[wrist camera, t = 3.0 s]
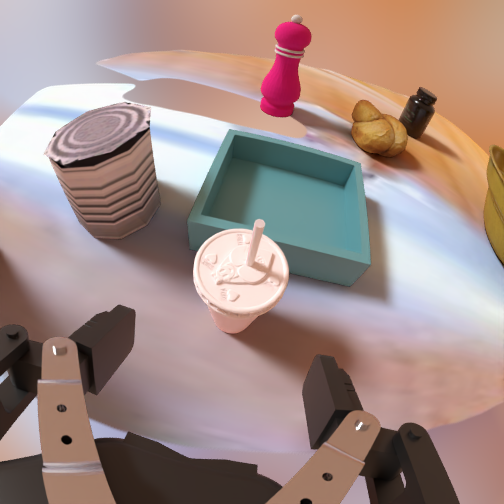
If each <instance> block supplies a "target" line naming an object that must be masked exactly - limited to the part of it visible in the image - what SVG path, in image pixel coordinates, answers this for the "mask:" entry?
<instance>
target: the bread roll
mask: <svg viewBox="0 0 504 504" xmlns="http://www.w3.org/2000/svg"><path fill="white" fill-rule="evenodd" d="M352 118H353V120H354V121H355V122H354V123H353V126H352V132H351V134H352V137H353V138H354V141H355V142H356V144H357V145H358V146H359V147H360V148H362V149H363V150H365V151H367V152H370V153H378V154H380V155H382V156H387V157H393V156H395V155H397V154H399V153H401V152H402V151H403V150H404V149H405V148H406V145H407V140H408V137H407V132H406V128H405V127H404V125H403V124H402V123H401V122H400V121H399V120H397V119H396V118H394V117H393V116H391V115H387V114H381V113H380V111H379V110H378V109H377V108H375V107H374V106H373V105H372V104H371V103H370V102H369V101H366V100H360V101H359V102H358V103H357V104H356V105H355V108H354V110H353V113H352Z"/></svg>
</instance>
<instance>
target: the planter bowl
mask: <svg viewBox="0 0 504 504" xmlns="http://www.w3.org/2000/svg"><path fill="white" fill-rule="evenodd" d="M489 152H490V158H489V162H488V166H487V180H488V184H489V188H488V192H487V196H486V200H485V206H484V222H485V229H486V233H487V236H488V238H489V241H490V243H491V245H492V247H493V249H494V251H495V253H496V254H497V256H498V257H499V259H500V260H501V261H502V263H503V264H504V149H502V148H501V147H499V146H496V145H491V146H490V147H489Z"/></svg>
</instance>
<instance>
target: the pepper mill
mask: <svg viewBox="0 0 504 504" xmlns="http://www.w3.org/2000/svg"><path fill="white" fill-rule="evenodd" d="M291 20H292V22H285V23H282V24H280V25H279V26H278V27H277V29H276V31H275V38H276V40H277V41H278V44H276V49H275V52H276V60H275V63H274V65H273V67H272V69H271V70H270V72H269V73H268V74H267V76H266V77H265V79H264V80H263V82H262V86H261V92H262V94H263V96H264V97H263V98H262V100H261V105H260V107H261V110H262V111H263V112H265V113H266V114H268V115H271V116H275V117H288V116H290V115H292V113H293V109H294V104H293V103H294V102H296V101H297V100H298V99H299V97H300V91H301V88H300V82H299V76H298V66H299V62H300V59H301V58H303V57H304V55H303V54H304V52H305V51H304V48H305V47H306V46H308V45H309V44H310V42H311V32H310V30H309V29H308V28H307V27H305V26H304V25H302V24H300V23H301V22H302V17H301V16H299V15H294V16H293V17H292V19H291Z"/></svg>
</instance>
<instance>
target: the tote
mask: <svg viewBox="0 0 504 504" xmlns="http://www.w3.org/2000/svg"><path fill="white" fill-rule="evenodd" d="M258 219H261V220H263V221H264V222H265V226H264V230H263V235H265V236H267V237H268V238H270V239H271V240H273V241H274V242H275V243H276V244H277V245H278V246H279V247H280V249H281V250H282V252H283V253H284V255H285V257H286V260H287V263H288V267H289V273H292V274H296V275H300V276H305V277H309V278H314V279H318V280H322V281H327V282H331V283H336V284H340V285H345V286H349V287H350V286H351V285H352V284H353V283H354V282H355V281H356V280H357V279H358V278H359V277H360V276H361V275H362V274H363V273H364V271H365V270H366V269H367V268H368V267H369V266H370V265H371V259H370V242H369V229H368V218H367V208H366V199H365V191H364V184H363V176H362V170H361V163H358V162H355V161H352V160H349V159H346V158H343V157H340V156H336V155H333V154H330V153H327V152H323V151H320V150H316V149H313V148H309V147H306V146H302V145H298V144H294V143H290V142H286V141H282V140H278V139H274V138H270V137H265V136H261V135H256V134H251V133H247V132H242V131H237V130H231V129H229V131H228V133H227V135H226V137H225V139H224V141H223V143H222V145H221V147H220V149H219V151H218V153H217V155H216V157H215V159H214V161H213V163H212V166H211V168H210V170H209V172H208V174H207V176H206V179H205V181H204V183H203V185H202V187H201V190H200V192H199V194H198V196H197V199H196V201H195V203H194V206H193V208H192V210H191V213H190V215H189V217H188V220H187V225H188V236H189V246H190V250H195V251H198V250H199V249H200V247H201V246H202V245H203V243H204V242H205V241H206V240H208V239H209V238H210V237H212V236H213V235H215V234H217V233H219V232H222V231H225V230H229V229H248V230H253V228H254V223H255V221H256V220H258Z"/></svg>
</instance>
